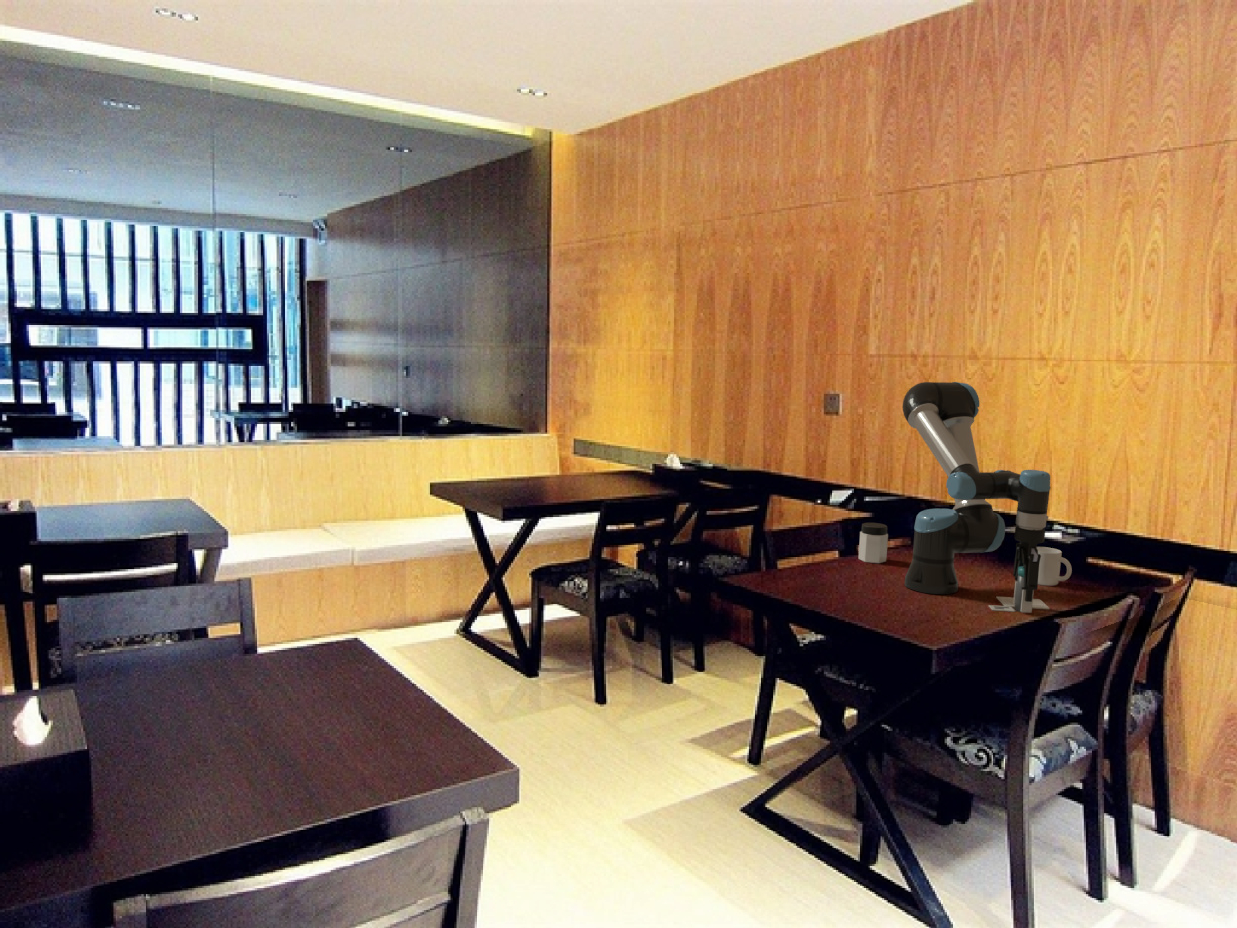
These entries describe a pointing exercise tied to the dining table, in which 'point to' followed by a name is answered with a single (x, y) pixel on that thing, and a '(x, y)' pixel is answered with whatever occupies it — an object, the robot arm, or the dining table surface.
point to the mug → (1051, 566)
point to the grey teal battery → (1019, 588)
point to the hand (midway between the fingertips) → (1022, 607)
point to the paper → (1009, 602)
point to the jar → (873, 543)
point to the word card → (1001, 608)
